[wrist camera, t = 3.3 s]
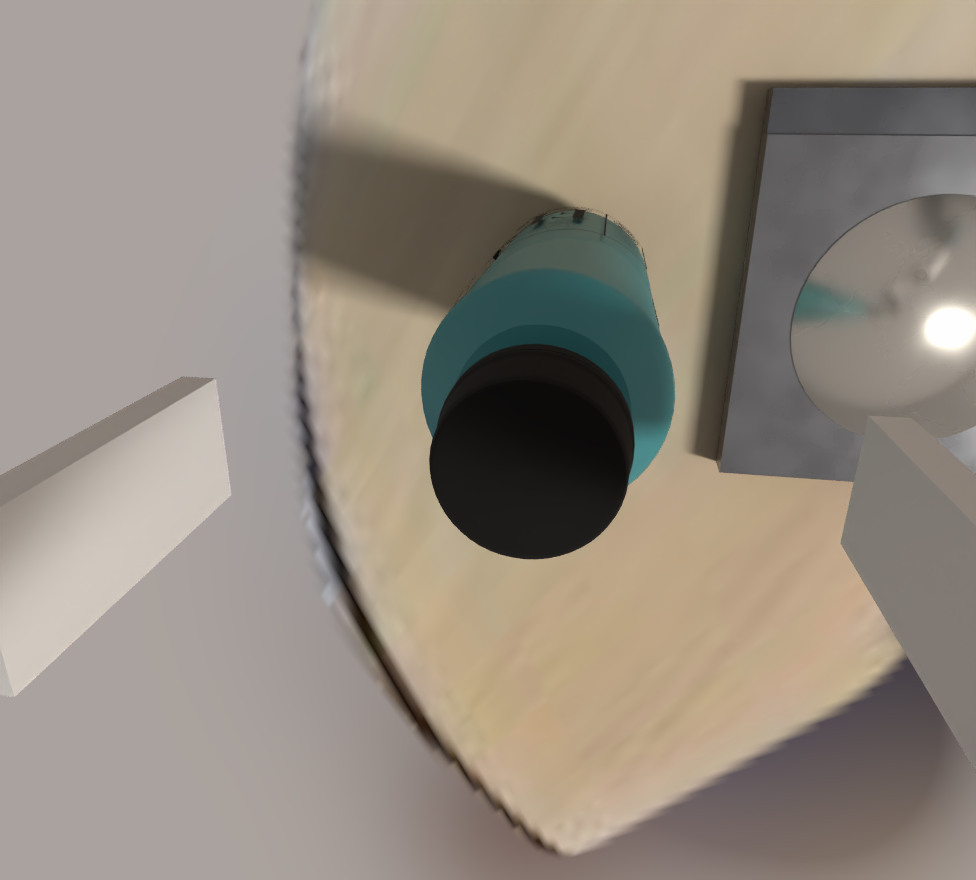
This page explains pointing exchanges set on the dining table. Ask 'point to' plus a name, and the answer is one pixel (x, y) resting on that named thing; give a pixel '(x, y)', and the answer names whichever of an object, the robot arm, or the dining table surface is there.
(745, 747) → the dining table surface
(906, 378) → the motor plate
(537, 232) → the beverage bottle
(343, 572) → the dining table surface
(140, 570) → the robot arm
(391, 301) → the dining table surface
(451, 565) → the dining table surface
